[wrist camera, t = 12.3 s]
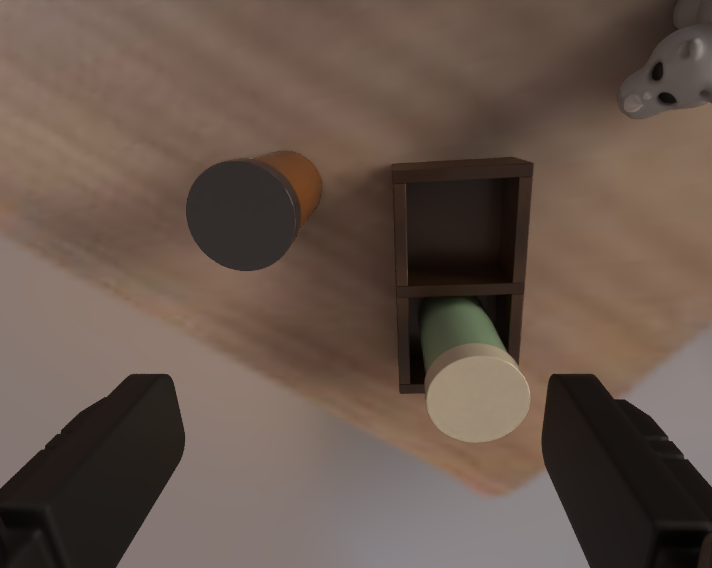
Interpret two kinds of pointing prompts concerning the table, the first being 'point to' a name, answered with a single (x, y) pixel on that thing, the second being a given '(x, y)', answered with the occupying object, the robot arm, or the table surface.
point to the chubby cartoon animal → (674, 67)
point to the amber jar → (252, 208)
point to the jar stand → (459, 246)
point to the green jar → (469, 371)
